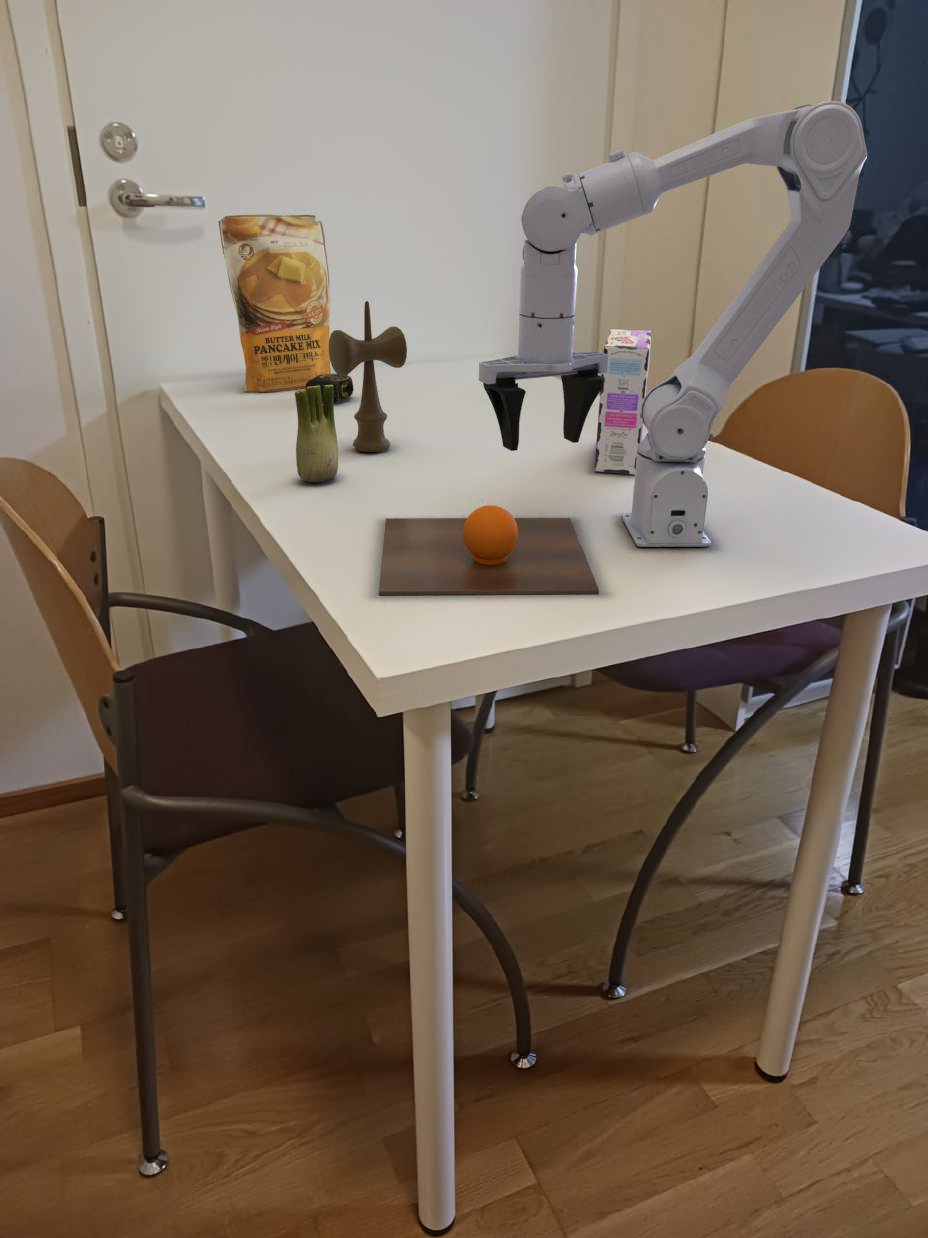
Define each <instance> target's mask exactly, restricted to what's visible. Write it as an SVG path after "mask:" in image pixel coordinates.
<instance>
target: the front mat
mask: <svg viewBox="0 0 928 1238" xmlns="http://www.w3.org/2000/svg"><path fill="white" fill-rule="evenodd" d="M467 518H468V517H459V518H458V517H448V518H447V517H440V518H439V517H432V518H429V517H427V518H424V517H423V518H422V517H421V518H420V517H418V518H417V517H416V518H414V517H413V518H412V517H411V518H410V517H408V518H407V517H406V518H402V517H401V518H399V517H398V518H396V517H395V518H394V517H393V518H391V517H390V518H388V517H387V518H385V525H384V536H383V545H382V557H381V565H380V566H381V567H380V575H379V576H380V577H379V588H378V595H379V596H440V595H441V596H443V595H444V596H447V595H450V596H451V595H453V596H458V595H459V596H460V595H461V596H462V595H463V596H465V595H466V596H468V595H597V594H598V595H599V594H600V589H599V586H598V584H597V582H596V579H595V575H594V574H593V571H592V569H591V566H590V564H589V561H588V559H587V556H586V553H585V551H584V548H583V546H582V543H581V542H580V539H579V536H578V534H577V532H576V528H575V526H574V524H573V521H572V519H571V517H513V518H514V519H515V521H516V523H517V527H518V539H517V542H516V545H515V547H514V548H513V550H512V551H511V552H510V553H509V554H508V555H507V557H506V561H505V562H503V563H500V564H495V565H486V564H481V563H478V562H476V561H475V560H474V559H473V554H472V553H471V552H470V551H469V550H468V548H467V547H466V545H465V542H464V539H463V527H464V524H465V521H466V519H467Z"/></svg>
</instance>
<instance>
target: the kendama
mask: <svg viewBox="0 0 928 1238" xmlns="http://www.w3.org/2000/svg"><path fill="white" fill-rule="evenodd" d="M363 329H364V330H363V337H364V338H363V339H356V338H354V337H352V335H349V334H348V333H346V332H345V331H343V330H341V329H335V330H333V331H332V332H330V339H329V357H330V366H331V367H332V369H333V370H334V372H335V374H338V375H339V376H347V375H348V376H349V374H351V373H352V372H353V371H354V370H355V369H356V368H357V367H358V366H359V365H360V364H362V363H363V374H362V375H363V376H362V387H361V388H362V389H361V397H360V404H359V408H358V411H357V412H355V413H354V416H353V419H354V420H355V421H356V422H357V435H356V437H355V439H354V440H353V442H352V446H353V447H354V449H355V450H357V451H361V452H365V453H377V452H381V451H384V450H385V451H386V450H387V449H389V448H390V447H391V441H390V440H389V439H387V438H386V436H385V430H384V429H385V428H384V426H385V425H384V424H385V422H386V421H387V419H388V414H387V413H386V412H385V411H384V410H383V408H382V406H381V405H382V404H381V402H380V397H379V396H380V395H379V391H378V386H377V385H378V384H377V378H376V371H375V370H376V369H375V361H379V362H382V363H384V364H385V365H387V366H388V365H389V366H390V367H392V368H395V369H400V368H402V367H403V366H405V363H406V361H407V357H408V356H407V355H408V344H407V339H406V336H405V334H404V332H403V331H402V329H401V328H399V327H398V326H389V327H387V328H386V329H385V330H383V332H381V333H380V334H378V336H376V337H373V334H372V320H371V308H370V302H369V301H368V300H366V301H365V302H364V309H363Z"/></svg>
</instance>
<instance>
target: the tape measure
mask: <svg viewBox="0 0 928 1238" xmlns="http://www.w3.org/2000/svg"><path fill="white" fill-rule="evenodd" d="M319 385H320V388H321V395H322V400H323V386H325V385H333V387H334V394H333V395H334V402H339V401H341V400H345V399H349V398H351V397H352V395H353V394H354V382H353V378H352V377H351V376H350V375H349V374H348V375H347V376H339V375H338V374H337V373H331V374H323V375H319V376H317V377H315V378H313V379H311V380H309V381H308V382H307V383H306V388H307V387H311V386H319ZM306 388H305V389H306Z"/></svg>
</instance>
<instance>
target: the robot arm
mask: <svg viewBox="0 0 928 1238" xmlns="http://www.w3.org/2000/svg"><path fill="white" fill-rule="evenodd" d="M608 155H609V156H608V157H609V161H608V162H605V163H601V164H599V165H597V166H595V167H592V168H590V169H587V170H584V171H583V172H580V173H578V174H575V175H573V172H572V171H569V172H566V173H564V174H562V176H561V180H562V183H563V186H561V185H553V184H551V185H546V186H543V187H541V188H539V189H537V190H536V191H534V192H533V193H532V194H531V195H530V197H528V198H527V201H526V203H525V204H524V207H523V211H522V215H521V216H520V217H521V218H520V219H521V226H522V231H523V233H524V236H525V237H526V239H525V240H524V243H523V246H522V249H521V250H522V251H521V257H522V260H523V263H522V265H521V266H520V280H519V281H520V282H519V304H518V307H519V308H518V313H519V314H518V335H517V337H518V338H517V339H518V340H517V354H516V355H513V356H507V357H502V358H497V359H492V360H485V361H479V362H478V381H479V382H481V383H483V384H482V386H483V389H484V391H485V393H486V394H487V397H488V399H489V401H490V403H491V405H492V408H493V410H494V413H495V416H496V421H497V423H498V427H499V431H500V434H501V435H500V436H501V442H502V447H503V448H504V449H507V450H508V451H511V452H515V451H518V450H519V449H518V448H519V444H520V443H519V442H520V421H521V420H520V419H521V414H522V408H523V404H524V399H525V397H526V393H527V392H526V389H524V388H522V387H519V382H516V381H519V380H531V379H539V378H550V377H560V378H561V386H562V393H563V423H562V424H563V425H562V426H563V427H562V430H563V439H565V440H566V441H569V442H571V443H572V444H577V443H579V441H580V438H581V435H582V431H583V429H584V427H585V426H584V425H585V423H586V420H587V418H588V414H589V412H590V411H591V408H592V406H593V404H594V402H595V400H596V399H597V397H598V395H600V391H601V390H602V388H603V386H604V377H602V376H601V375H599V374H602V373H607V367H608V354H605V353H603V352H601V351H580V352H579V351H578V352H577V351H574V341H575V325H576V324H575V322H576V305H577V287H578V285H577V284H578V271H579V270H578V266H577V265H576V258H577V257H576V256H577V241H578V240H579V238H580V237H581V234H587V235H588V236H594V235H596V234H597V235H598V234H599V233H603V232H604V231H607V230H611V229H612V228H615V227H618V226H619V225H622V224H625V223H627V222H630V221H633V220H635V219H638V218H640V217H643V216H645V215H648V214H651V213H652V212H653V211H654V210H655V207H656V205H657V204H658V202H659V199H660V197H661V196H662V195H663V193H665V192H668V191H671V190H674V189H676V188H677V189H678V188H680V187H683V186H685V185H689V184H691V183H693V182H696V181H699V180H702V179H705V178H707V177H710V176H713V175H716V174H718V173H722V172H725V171H727V170H730V169H732V168H735V167H736V168H737V167H739V166H742V165H745V164H748V165H757V166H765V167H775V168H776V170H777V172H778V173H779V176H780V177H781V179H782V181H783V183H784V186H785V187H786V188H785V189H786V196H787V201H788V209H789V214H790V221H789V222H788V224H787V225H786V226H785V228H784V229H783V230H782V232H781V233H780V235H779V236H778V237H777V239H776V240H775V241H774V243H773V244H772V246H771V247H770V249H768V251H767V252H766V254H765V255H764V257H762V259H761V261H760V262H759V263H758V265H757V266H756V268H754V270H753V272H752V273H751V274H750V276H749V277H748V278H747V280H746V281H745V283H743V285H742V287H741V288H740V289H739V290H738V292H737V293H736V294H735V296H734V297H733V299H732V300H731V301H730V303H729V304H728V306H726V308H725V310H724V311H723V312H722V314H721V315H720V317H719V318H718V319H717V321H716V322H715V323H714V324H713V326H712V328H711V329H710V330H709V331H708V333H707V335H706V336H705V337H704V339H703V340H702V341H701V342H700V344H699V345H698V347H697V348H696V349H695V351H694V352H693V353H692V355H690V356H689V357H688V358H687V359H686V360H684V361H683V362H682V363H680V364H679V365H678V366H677V367H676V368H675V369H674V371H673V372H672V373H671V375H670V376H669V377H668V378H667V379H666V380H664V381H662V382H661V383H659V384H657V385H655V386H653V387H652V388H650V390H649V391H648V392H646V396H645V398H644V400H643V402H642V406H641V417H642V421H643V426H644V427H645V428H646V430H647V433H646V434H645V436H644V438H642V441H641V442H640V443H639V445H638V451H637V460H636V471H635V475H634V484H633V493H632V505H631V512H624V513H622V514H621V519H622V521H623V523H624V524H625V526H626V528H627V530H628V532H629V534H630V535H631V538H632V539H633V541H634V543H635V545H636V546H637V547H641V548H646V547H647V548H658V547H659V548H661V547H663V548H664V547H669V548H670V547H671V548H672V547H673V548H677V547H683V548H684V547H685V548H686V547H689V548H690V547H692V548H693V547H694V548H695V547H696V548H697V547H699V548H700V547H710V546H711V543H712V542H711V540H710V539H709V538H708V536H707V534H706V533H705V532H704V529H705V521H706V512H707V507H708V506H707V505H708V496H709V489H708V485H707V482H706V480H705V478H704V476H703V475H704V467H705V461H706V460H705V459H706V453H707V449H706V447H705V446H706V445H707V443H708V442H709V439H710V436H711V431H712V427H713V424H714V421H715V419H716V418H717V416H718V415H719V413H720V412H721V411H722V410H723V408H724V405H725V403H726V399H727V396H728V393H729V390H730V387H731V385H732V384H733V382H734V381H736V380H735V379H736V378H737V377H738V376H739V374H740V373H741V372H742V370H743V369H744V368H745V367H746V366H747V364H748V363H749V361H750V360H751V359H752V357H754V355H755V353H757V351H758V350H759V348H760V347H761V346H762V344H763V343H764V342H765V340H766V339H767V338H768V337H769V335H770V334H771V333H772V331H773V330H774V329H775V327H776V326H777V325H778V323H779V322H780V321H781V319H782V318H783V317H784V315H785V314H787V312H788V311H789V309H790V308H791V307H792V305H793V304H794V302H795V301H796V300H797V298H798V297H799V296H801V294H802V292H803V291H804V290H805V288H806V287H807V285H809V283H810V282H811V280H813V278H814V277H815V275H816V273H817V272H818V271H819V270H820V269H821V267H822V266H823V265H824V263H825V262H826V260H827V259H828V258H829V257H830V255H831V254H832V253H833V252H834V250H835V249H836V248H837V246H838V245H839V244H840V242H841V241H842V240H843V239H844V237H845V236H846V234H847V232H848V230H849V229H850V226H851V222H852V217H853V212H854V205H855V201H856V196H857V190H858V185H859V180H860V174H861V171H862V169H863V166H864V164H865V162H866V160H867V157H868V149H867V145H866V139H865V135H864V130H863V124H862V121H861V119H860V116H859V115H858V113H857V112H856V110H855V109H853V107H852V106H850V105H848V104H847V103H845V102H842V101H839V100H825V101H822V102H818V103H816V104H800V105H798V106H795V107H792V108H791V109H790V110H783V111H777V112H773V113H768V114H763V115H760V116H755V117H751V118H747V119H745V120H742V121H740V122H737V123H735V124H733V125H730V126H728V127H725V128H723V129H721V130H719V131H716V132H714V133H712V134H710V135H707V136H705V137H703V138H700V139H698V140H696V141H694V142H691V143H689V144H687V145H685V146H681V147H680V148H678V149H675V150H672V151H670V152H669V153H665V154H664V155H660V156H659V157H657V158H654V159H652V158H650V157H648V156H645V155H644V154H642V153H640V152H639V151H632V152H629V153H628V154H625V153H624V150H622V149H619V150H616V151H615V152H612V153H609V154H608Z"/></svg>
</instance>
